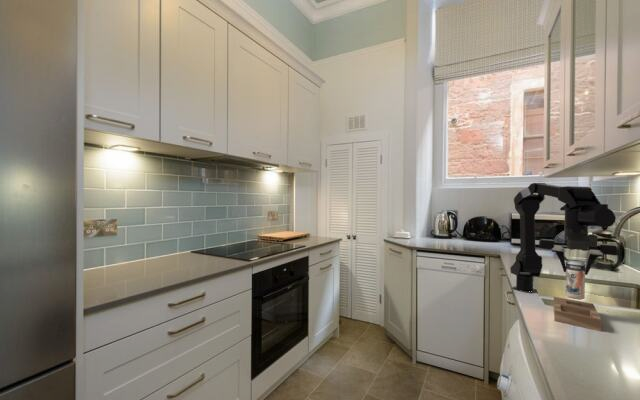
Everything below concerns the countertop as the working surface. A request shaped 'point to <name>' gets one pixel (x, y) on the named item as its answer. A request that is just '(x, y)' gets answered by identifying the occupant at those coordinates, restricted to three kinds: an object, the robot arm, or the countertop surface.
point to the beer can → (575, 279)
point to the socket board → (576, 313)
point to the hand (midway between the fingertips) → (575, 273)
